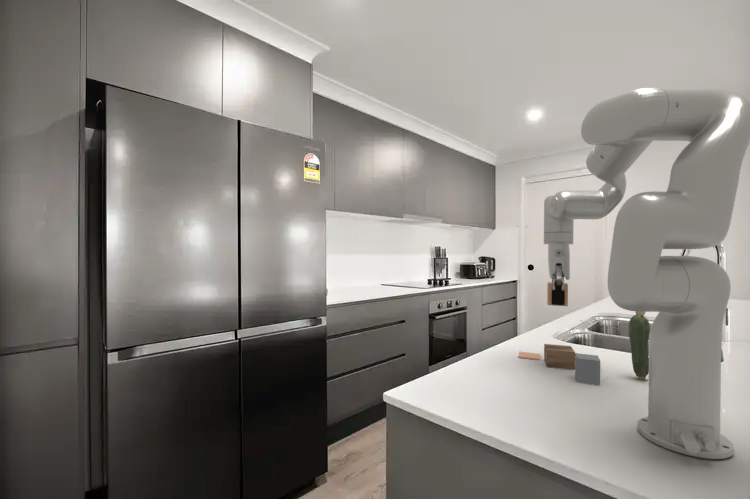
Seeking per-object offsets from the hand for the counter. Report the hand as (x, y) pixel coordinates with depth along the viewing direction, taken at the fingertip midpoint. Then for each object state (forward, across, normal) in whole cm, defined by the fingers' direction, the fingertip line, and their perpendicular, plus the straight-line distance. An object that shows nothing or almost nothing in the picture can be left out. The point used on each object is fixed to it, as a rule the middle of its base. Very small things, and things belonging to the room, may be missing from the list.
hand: (557, 302), depth 104 cm
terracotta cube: (+1, 0, 0) cm, 1 cm away
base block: (+18, 0, -1) cm, 18 cm away
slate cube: (+18, -11, -6) cm, 22 cm away
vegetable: (+18, -4, -18) cm, 26 cm away
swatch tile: (+18, +6, +7) cm, 20 cm away
